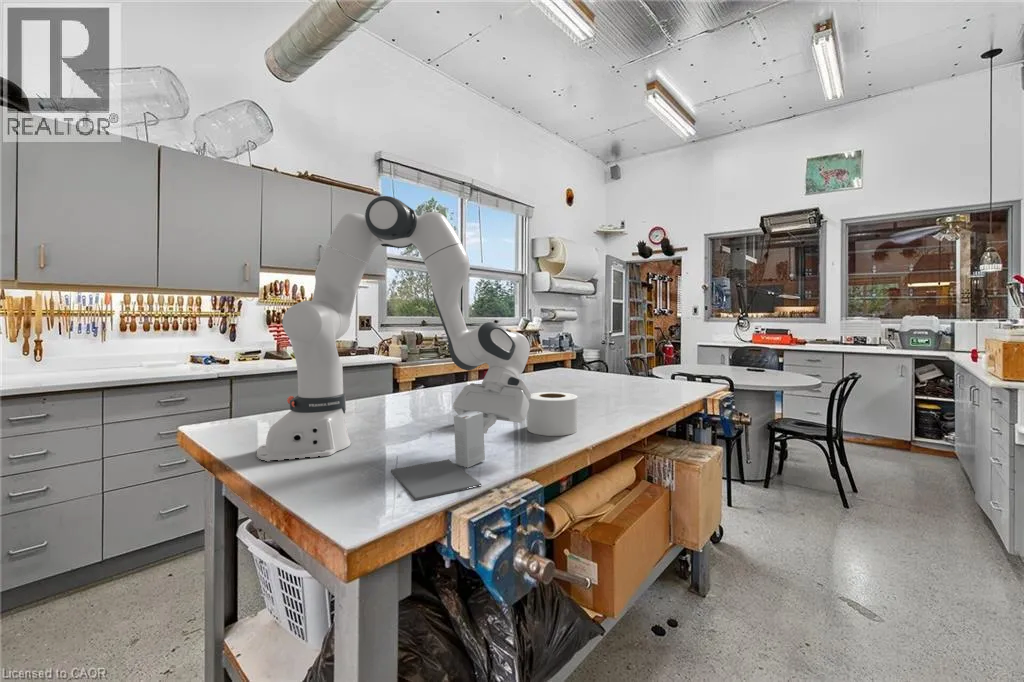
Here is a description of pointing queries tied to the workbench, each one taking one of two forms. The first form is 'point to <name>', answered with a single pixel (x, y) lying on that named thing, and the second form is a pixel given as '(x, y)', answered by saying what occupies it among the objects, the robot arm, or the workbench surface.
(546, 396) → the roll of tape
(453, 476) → the rubber mat
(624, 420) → the workbench surface
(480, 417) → the skincare box
